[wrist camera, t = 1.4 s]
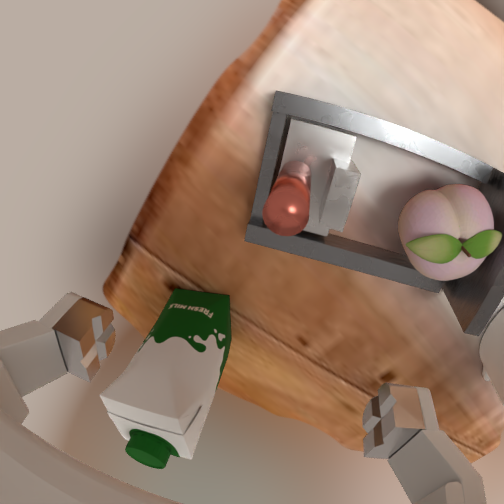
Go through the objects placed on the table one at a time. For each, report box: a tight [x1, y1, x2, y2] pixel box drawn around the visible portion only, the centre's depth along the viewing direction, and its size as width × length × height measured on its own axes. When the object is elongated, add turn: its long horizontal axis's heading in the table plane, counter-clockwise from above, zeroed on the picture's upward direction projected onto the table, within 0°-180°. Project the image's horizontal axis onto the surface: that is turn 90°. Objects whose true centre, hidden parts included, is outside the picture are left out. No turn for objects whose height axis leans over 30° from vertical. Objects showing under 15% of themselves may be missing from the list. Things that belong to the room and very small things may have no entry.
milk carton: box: [100, 288, 231, 469], centre depth 31 cm, size 9×9×20 cm
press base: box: [244, 91, 504, 336], centre depth 25 cm, size 24×14×9 cm, turn 79°
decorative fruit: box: [398, 184, 502, 281], centre depth 24 cm, size 9×8×10 cm
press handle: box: [262, 118, 361, 237], centre depth 24 cm, size 6×10×12 cm, turn 169°
